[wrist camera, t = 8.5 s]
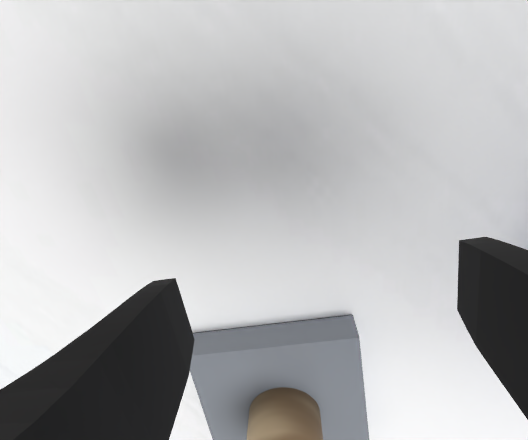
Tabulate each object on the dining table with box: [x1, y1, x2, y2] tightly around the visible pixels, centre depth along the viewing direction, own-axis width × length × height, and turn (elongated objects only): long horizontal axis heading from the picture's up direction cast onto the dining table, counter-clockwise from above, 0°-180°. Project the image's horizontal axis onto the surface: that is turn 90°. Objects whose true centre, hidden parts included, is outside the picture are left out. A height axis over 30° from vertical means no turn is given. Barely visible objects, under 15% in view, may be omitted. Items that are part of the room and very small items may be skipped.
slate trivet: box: [190, 315, 369, 440], centre depth 24 cm, size 10×10×2 cm
